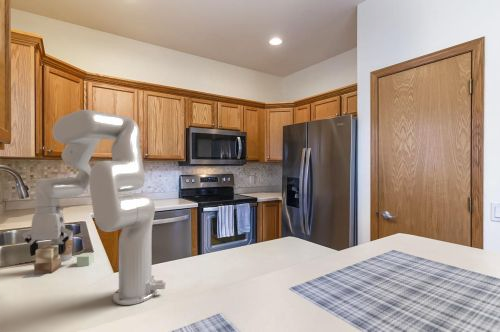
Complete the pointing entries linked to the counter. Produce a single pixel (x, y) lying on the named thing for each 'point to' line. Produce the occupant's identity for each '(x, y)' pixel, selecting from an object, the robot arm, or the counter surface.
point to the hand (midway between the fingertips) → (48, 254)
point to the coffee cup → (68, 252)
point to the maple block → (47, 254)
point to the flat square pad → (36, 274)
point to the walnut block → (47, 267)
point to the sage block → (85, 259)
